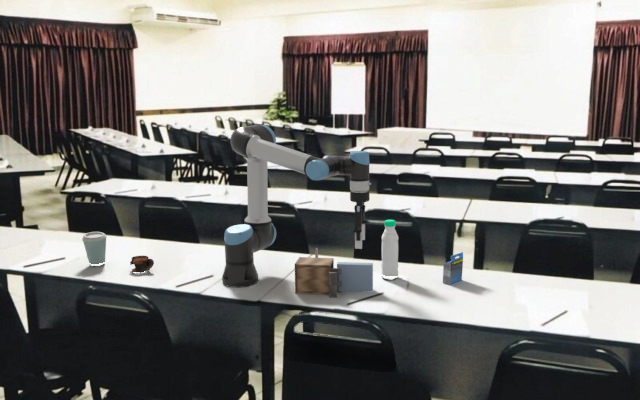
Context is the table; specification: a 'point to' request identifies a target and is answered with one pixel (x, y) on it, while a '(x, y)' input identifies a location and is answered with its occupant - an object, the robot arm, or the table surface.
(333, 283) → the cabinet
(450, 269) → the label tape box
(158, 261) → the table surface
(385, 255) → the water bottle
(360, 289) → the door
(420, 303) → the table surface
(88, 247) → the disposable coffee cup
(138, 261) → the pottery mug
